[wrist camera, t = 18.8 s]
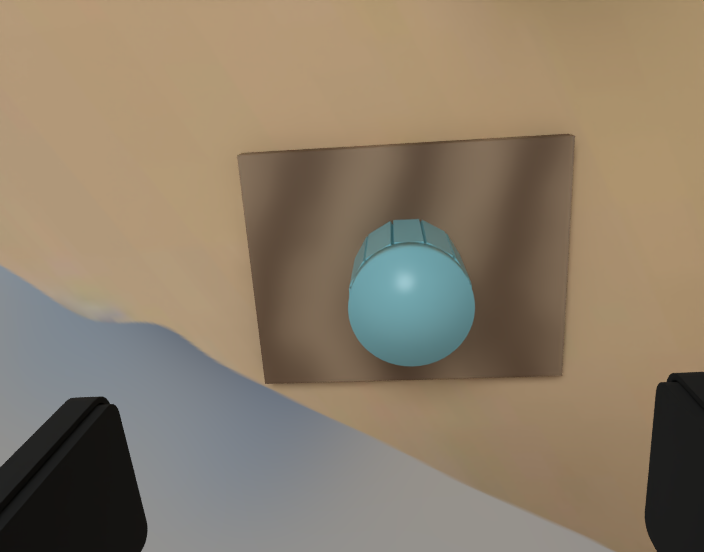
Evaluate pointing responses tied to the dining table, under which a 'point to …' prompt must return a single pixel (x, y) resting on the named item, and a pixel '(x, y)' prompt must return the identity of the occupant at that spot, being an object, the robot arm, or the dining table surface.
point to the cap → (410, 294)
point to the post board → (424, 204)
